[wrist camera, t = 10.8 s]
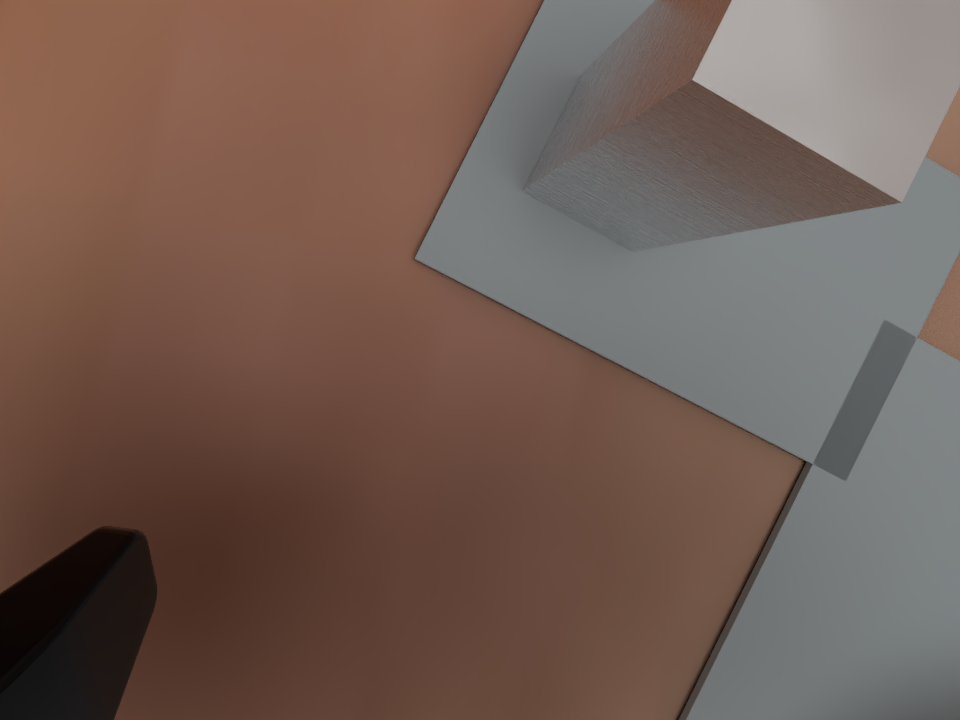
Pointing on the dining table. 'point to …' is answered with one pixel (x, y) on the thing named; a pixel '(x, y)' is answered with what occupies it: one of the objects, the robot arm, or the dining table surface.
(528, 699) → the dining table surface
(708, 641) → the dining table surface
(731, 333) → the pull board
